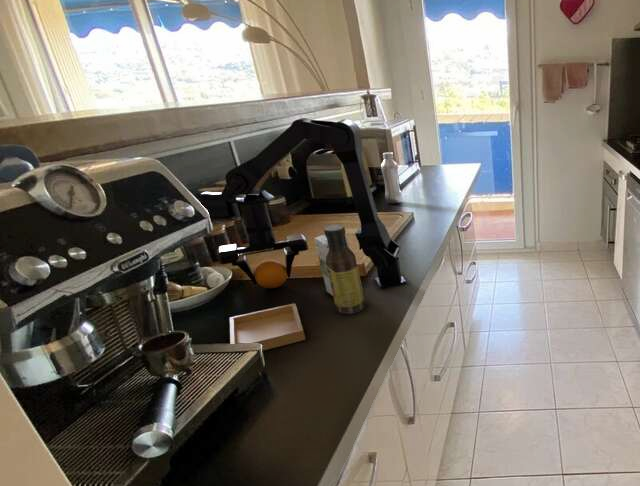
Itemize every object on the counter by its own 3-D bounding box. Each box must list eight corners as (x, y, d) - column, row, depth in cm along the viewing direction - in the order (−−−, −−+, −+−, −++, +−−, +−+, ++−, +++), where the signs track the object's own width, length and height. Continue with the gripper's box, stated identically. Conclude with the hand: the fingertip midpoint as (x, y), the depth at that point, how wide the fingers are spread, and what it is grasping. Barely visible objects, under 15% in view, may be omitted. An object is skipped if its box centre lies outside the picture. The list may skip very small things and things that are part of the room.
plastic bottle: (400, 205, 181) (394, 154, 172) (383, 205, 181) (376, 154, 173) (404, 201, 187) (398, 151, 178) (388, 200, 187) (381, 151, 178)
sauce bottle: (342, 302, 106) (326, 221, 97) (369, 302, 106) (355, 222, 97) (331, 315, 100) (313, 231, 91) (359, 316, 100) (343, 231, 91)
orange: (291, 289, 112) (285, 262, 109) (259, 295, 108) (251, 268, 105) (288, 278, 117) (282, 253, 114) (257, 284, 114) (249, 258, 111)
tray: (305, 339, 91) (303, 330, 90) (233, 358, 85) (230, 348, 84) (297, 311, 101) (295, 303, 100) (232, 326, 95) (229, 317, 94)
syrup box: (358, 292, 111) (348, 236, 104) (335, 300, 107) (323, 243, 100) (348, 285, 114) (337, 231, 108) (325, 292, 110) (312, 237, 104)
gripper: (295, 206, 116) (308, 262, 123) (209, 217, 107) (228, 276, 114) (301, 217, 107) (314, 276, 114) (208, 230, 98) (229, 293, 105)
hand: (272, 280), depth 112 cm, fingers closed on orange, 7 cm apart
